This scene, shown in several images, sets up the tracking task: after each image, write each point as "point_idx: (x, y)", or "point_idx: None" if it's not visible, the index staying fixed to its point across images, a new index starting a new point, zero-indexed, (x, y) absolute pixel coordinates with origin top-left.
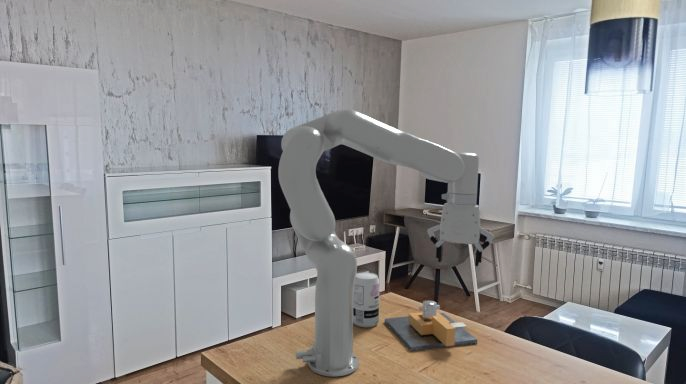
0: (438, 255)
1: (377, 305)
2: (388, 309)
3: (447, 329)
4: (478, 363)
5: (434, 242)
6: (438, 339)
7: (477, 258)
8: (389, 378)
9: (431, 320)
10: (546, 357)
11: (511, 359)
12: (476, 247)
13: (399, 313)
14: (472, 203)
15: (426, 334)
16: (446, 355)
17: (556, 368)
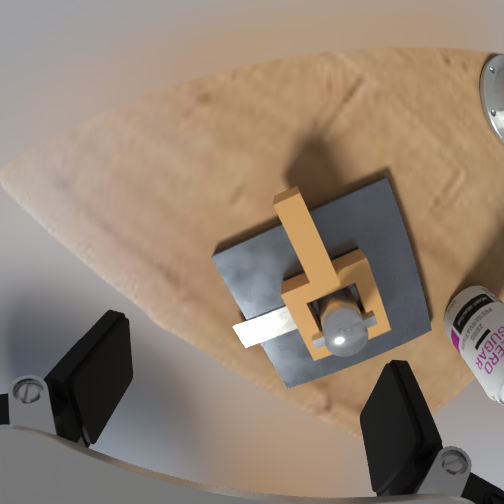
0: (420, 391)
1: (469, 328)
2: None
3: (298, 193)
4: (217, 142)
5: (472, 481)
6: None
7: (86, 340)
8: (418, 47)
9: (335, 297)
10: (78, 214)
11: (141, 184)
12: (51, 416)
13: None
14: None
15: None
16: (295, 169)
17: (67, 169)
